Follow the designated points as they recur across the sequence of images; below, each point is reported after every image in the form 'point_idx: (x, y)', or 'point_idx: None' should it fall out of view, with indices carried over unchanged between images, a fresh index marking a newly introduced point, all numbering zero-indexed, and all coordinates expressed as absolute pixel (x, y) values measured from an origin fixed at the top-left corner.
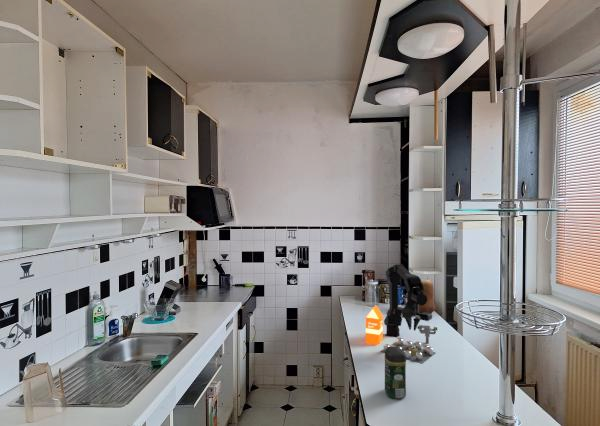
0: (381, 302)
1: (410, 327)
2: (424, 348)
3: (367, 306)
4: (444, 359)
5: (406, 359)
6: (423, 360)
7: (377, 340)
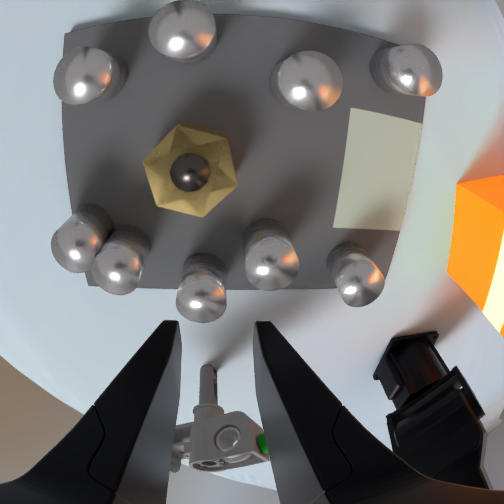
0: None
1: (257, 361)
2: (119, 244)
3: None
4: (22, 233)
5: None
6: None
7: (484, 194)
